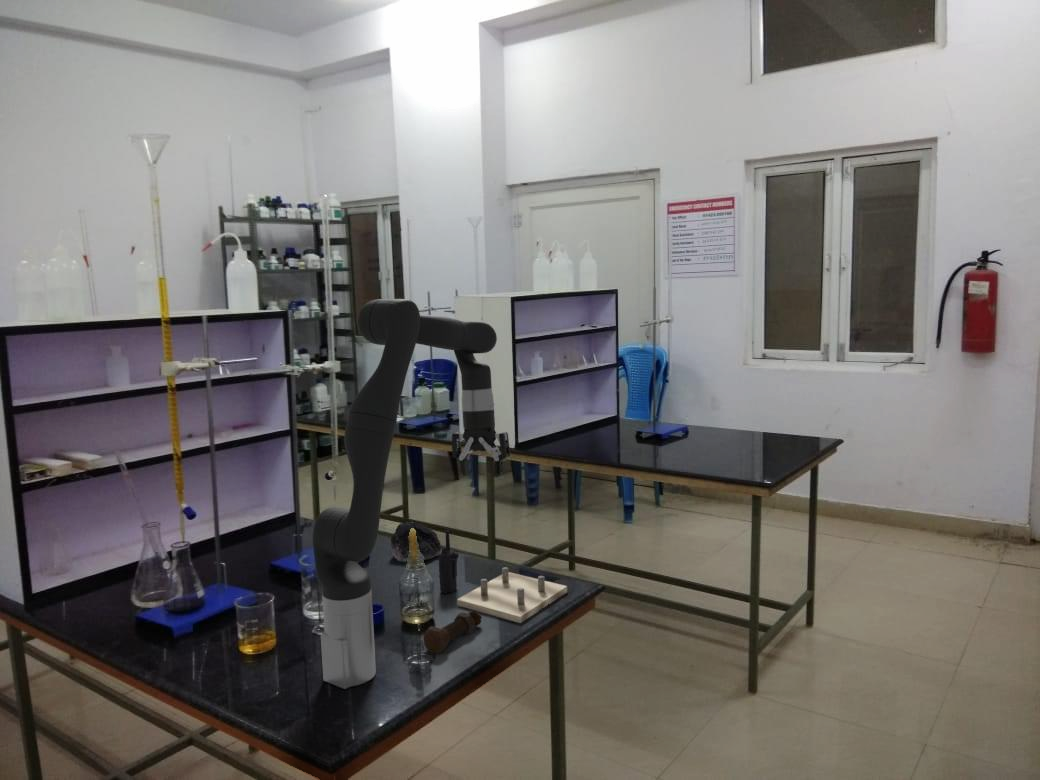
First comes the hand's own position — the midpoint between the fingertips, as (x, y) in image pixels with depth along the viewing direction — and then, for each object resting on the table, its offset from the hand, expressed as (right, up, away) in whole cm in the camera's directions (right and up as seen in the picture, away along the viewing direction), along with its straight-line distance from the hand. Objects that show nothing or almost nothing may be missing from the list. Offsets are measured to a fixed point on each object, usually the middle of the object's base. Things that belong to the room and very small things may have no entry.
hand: (482, 476), depth 183 cm
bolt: (-5, -33, -19) cm, 38 cm away
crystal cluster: (-20, -26, +32) cm, 45 cm away
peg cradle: (+7, -29, +1) cm, 30 cm away
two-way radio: (-8, -29, +7) cm, 31 cm away
